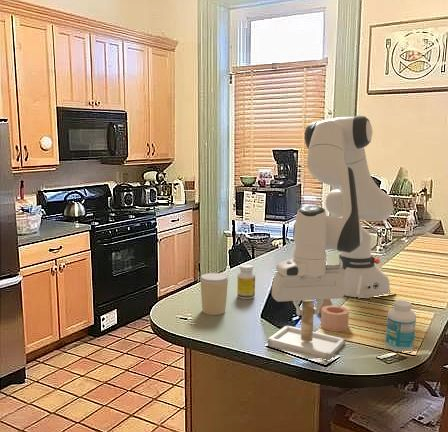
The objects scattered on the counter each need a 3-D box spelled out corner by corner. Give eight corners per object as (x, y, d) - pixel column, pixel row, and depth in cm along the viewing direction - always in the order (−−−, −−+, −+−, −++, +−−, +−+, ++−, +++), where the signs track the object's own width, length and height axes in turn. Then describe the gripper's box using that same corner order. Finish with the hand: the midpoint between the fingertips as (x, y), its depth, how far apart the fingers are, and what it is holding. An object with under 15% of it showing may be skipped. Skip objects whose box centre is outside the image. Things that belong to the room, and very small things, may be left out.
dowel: (310, 336, 142) (311, 299, 140) (314, 341, 138) (315, 303, 137) (299, 337, 141) (300, 300, 139) (303, 341, 138) (304, 303, 136)
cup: (341, 323, 158) (342, 304, 157) (352, 332, 150) (353, 313, 149) (317, 324, 156) (317, 306, 155) (326, 334, 148) (327, 315, 147)
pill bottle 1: (253, 300, 179) (254, 268, 177) (235, 298, 180) (236, 267, 178) (255, 294, 185) (256, 264, 183) (238, 293, 186) (239, 263, 184)
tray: (344, 346, 140) (344, 338, 140) (328, 362, 130) (329, 354, 130) (286, 332, 150) (286, 325, 149) (267, 345, 140) (267, 338, 139)
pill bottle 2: (380, 344, 142) (383, 298, 140) (406, 343, 143) (409, 298, 141) (391, 355, 135) (395, 307, 133) (418, 354, 135) (422, 307, 133)
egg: (319, 312, 167) (320, 292, 166) (334, 315, 165) (335, 295, 164) (313, 316, 163) (314, 296, 162) (328, 319, 160) (329, 299, 159)
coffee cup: (231, 308, 170) (232, 274, 168) (222, 317, 161) (222, 281, 160) (205, 304, 173) (206, 271, 171) (195, 313, 164) (195, 278, 163)
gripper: (340, 261, 141) (338, 308, 144) (270, 264, 138) (269, 312, 140) (349, 267, 135) (347, 316, 137) (277, 270, 132) (275, 320, 134)
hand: (307, 314), depth 139 cm, fingers closed on dowel, 3 cm apart
